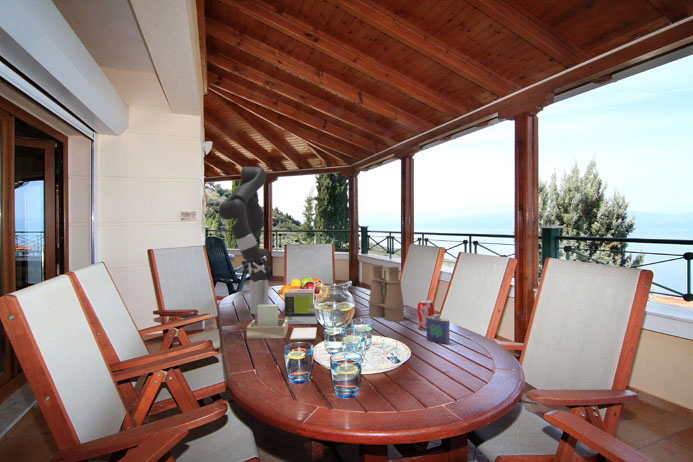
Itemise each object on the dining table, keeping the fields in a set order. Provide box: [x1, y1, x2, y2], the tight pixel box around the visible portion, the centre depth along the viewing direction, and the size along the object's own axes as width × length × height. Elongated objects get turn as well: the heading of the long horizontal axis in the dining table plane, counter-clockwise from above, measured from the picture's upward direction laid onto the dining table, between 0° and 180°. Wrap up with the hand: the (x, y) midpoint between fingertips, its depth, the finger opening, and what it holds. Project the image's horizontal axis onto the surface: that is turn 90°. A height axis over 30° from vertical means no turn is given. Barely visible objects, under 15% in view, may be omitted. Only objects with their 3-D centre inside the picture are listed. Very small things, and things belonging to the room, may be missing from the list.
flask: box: [425, 313, 451, 345], centre depth 137 cm, size 9×3×11 cm, turn 50°
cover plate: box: [257, 304, 279, 327], centre depth 149 cm, size 3×8×12 cm, turn 93°
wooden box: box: [246, 318, 289, 340], centre depth 149 cm, size 12×15×4 cm
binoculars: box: [367, 264, 405, 323], centre depth 174 cm, size 21×10×25 cm, turn 41°
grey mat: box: [289, 327, 318, 340], centre depth 148 cm, size 14×10×1 cm
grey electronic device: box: [284, 288, 319, 325], centre depth 167 cm, size 15×10×15 cm
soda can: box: [416, 299, 435, 332], centre depth 154 cm, size 7×7×12 cm
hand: (263, 280), depth 153 cm, fingers open, 8 cm apart
